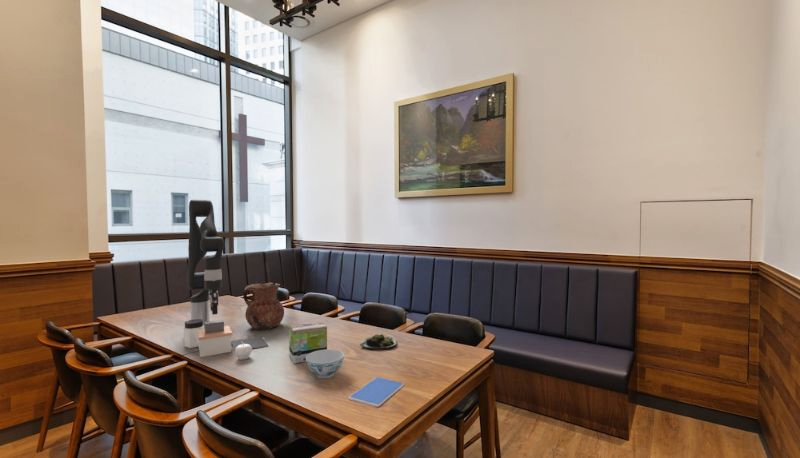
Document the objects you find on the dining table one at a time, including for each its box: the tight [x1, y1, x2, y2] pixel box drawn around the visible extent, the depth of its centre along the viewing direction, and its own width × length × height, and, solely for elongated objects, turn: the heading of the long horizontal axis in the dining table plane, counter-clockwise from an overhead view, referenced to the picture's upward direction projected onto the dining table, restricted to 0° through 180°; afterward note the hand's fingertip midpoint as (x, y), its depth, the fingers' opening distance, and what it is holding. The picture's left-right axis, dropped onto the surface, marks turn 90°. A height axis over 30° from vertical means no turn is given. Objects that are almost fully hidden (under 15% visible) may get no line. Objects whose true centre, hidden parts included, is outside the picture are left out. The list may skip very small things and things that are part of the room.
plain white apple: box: [234, 341, 253, 361], centre depth 167 cm, size 7×7×8 cm
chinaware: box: [305, 348, 345, 379], centre depth 149 cm, size 15×15×8 cm
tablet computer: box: [348, 376, 405, 408], centre depth 134 cm, size 19×13×1 cm, turn 152°
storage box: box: [198, 335, 232, 358], centre depth 178 cm, size 13×13×8 cm
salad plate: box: [359, 333, 397, 351], centre depth 186 cm, size 19×18×5 cm
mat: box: [231, 336, 269, 351], centre depth 186 cm, size 17×15×1 cm
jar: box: [183, 319, 204, 349], centre depth 186 cm, size 9×8×12 cm
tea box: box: [288, 321, 328, 365], centre depth 167 cm, size 15×10×15 cm
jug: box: [242, 282, 285, 330], centre depth 217 cm, size 22×21×25 cm
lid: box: [197, 319, 233, 340], centre depth 178 cm, size 14×14×7 cm
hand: (214, 312), depth 178 cm, fingers open, 8 cm apart
